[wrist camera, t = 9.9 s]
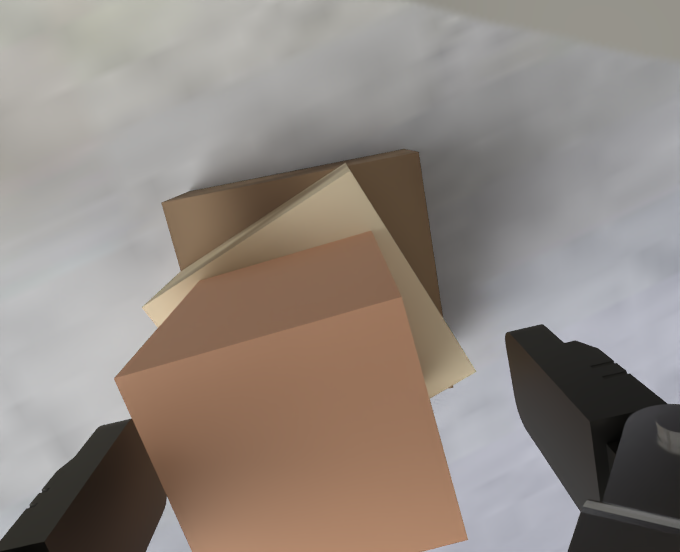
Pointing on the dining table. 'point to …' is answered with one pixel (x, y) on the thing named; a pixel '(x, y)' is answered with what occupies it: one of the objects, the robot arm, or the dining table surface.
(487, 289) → the dining table surface
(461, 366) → the tower middle
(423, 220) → the tower base
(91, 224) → the dining table surface
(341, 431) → the peach cube on top
